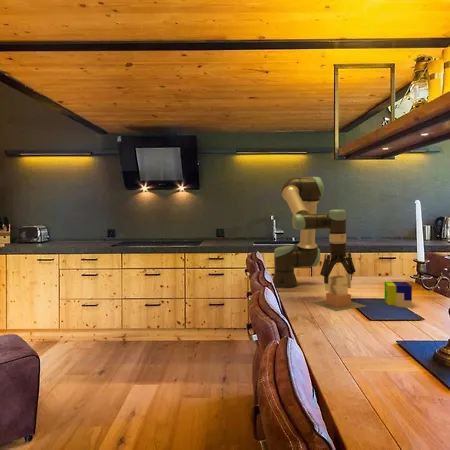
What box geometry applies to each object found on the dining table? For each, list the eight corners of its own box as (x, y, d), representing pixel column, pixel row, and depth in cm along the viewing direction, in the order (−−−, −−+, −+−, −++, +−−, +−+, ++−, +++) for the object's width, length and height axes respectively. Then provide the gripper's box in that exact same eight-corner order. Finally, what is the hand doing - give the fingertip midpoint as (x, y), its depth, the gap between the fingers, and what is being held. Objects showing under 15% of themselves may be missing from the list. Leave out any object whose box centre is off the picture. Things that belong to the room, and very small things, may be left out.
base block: (326, 303, 193) (325, 293, 193) (339, 301, 196) (339, 291, 196) (337, 307, 186) (337, 296, 185) (351, 305, 189) (350, 294, 189)
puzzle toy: (411, 307, 186) (411, 286, 186) (388, 307, 188) (388, 285, 188) (406, 302, 196) (406, 281, 195) (384, 302, 198) (384, 281, 197)
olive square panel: (311, 304, 195) (311, 302, 195) (340, 300, 203) (340, 298, 203) (336, 313, 179) (336, 311, 179) (367, 308, 187) (367, 306, 187)
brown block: (328, 293, 192) (328, 276, 192) (338, 291, 195) (338, 275, 194) (337, 295, 187) (337, 278, 187) (347, 294, 189) (347, 277, 189)
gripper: (322, 244, 181) (322, 293, 182) (363, 241, 191) (363, 287, 192) (311, 243, 188) (312, 290, 189) (352, 240, 198) (352, 285, 199)
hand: (338, 289), depth 191 cm, fingers open, 11 cm apart
